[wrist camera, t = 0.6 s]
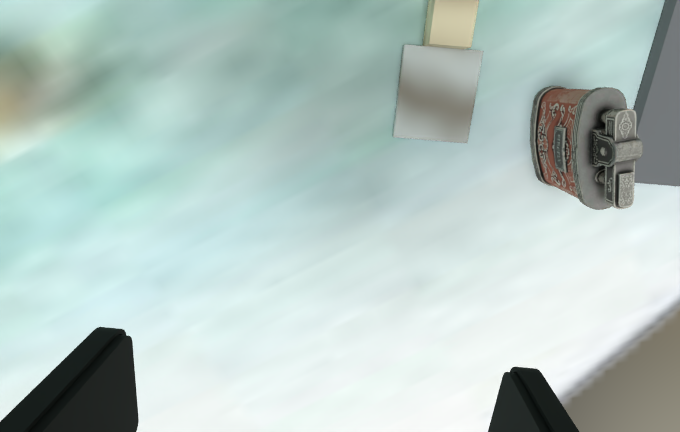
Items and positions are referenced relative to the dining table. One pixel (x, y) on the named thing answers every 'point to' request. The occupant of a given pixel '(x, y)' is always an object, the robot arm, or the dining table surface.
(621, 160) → the lighter
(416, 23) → the dining table surface
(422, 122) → the turner
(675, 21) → the mat
